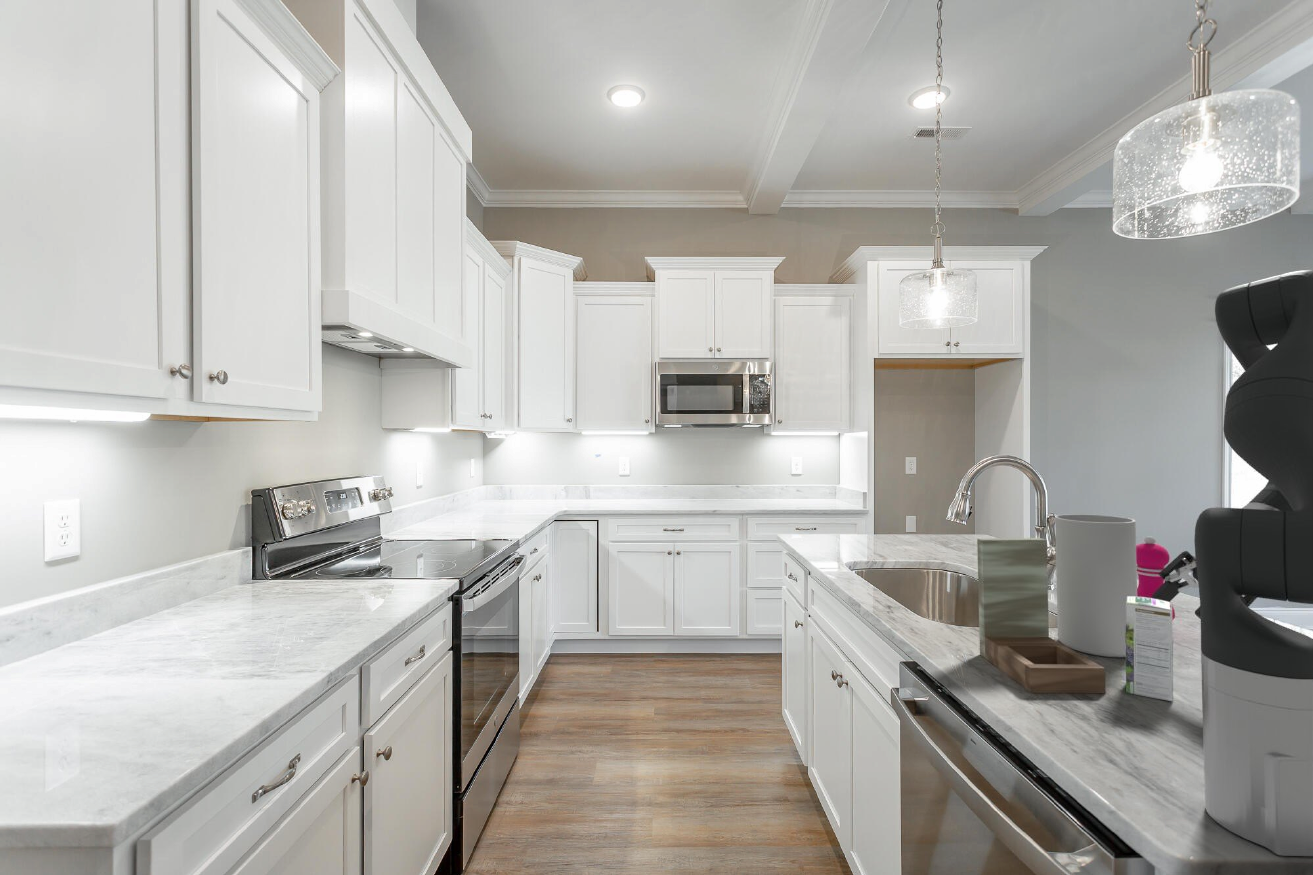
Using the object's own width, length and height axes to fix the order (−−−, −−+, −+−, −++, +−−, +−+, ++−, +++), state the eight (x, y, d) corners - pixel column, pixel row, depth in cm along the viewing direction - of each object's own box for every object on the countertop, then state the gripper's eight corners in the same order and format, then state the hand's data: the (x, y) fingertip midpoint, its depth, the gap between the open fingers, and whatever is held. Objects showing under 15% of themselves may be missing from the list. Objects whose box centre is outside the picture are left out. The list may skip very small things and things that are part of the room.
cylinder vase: (1148, 648, 111) (1145, 518, 111) (1125, 664, 104) (1121, 525, 104) (1072, 631, 121) (1070, 512, 122) (1046, 644, 114) (1043, 518, 114)
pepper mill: (1170, 629, 121) (1168, 534, 122) (1180, 640, 115) (1177, 539, 115) (1126, 624, 125) (1124, 532, 125) (1133, 634, 119) (1131, 537, 119)
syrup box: (1126, 681, 97) (1124, 594, 97) (1173, 690, 93) (1171, 600, 93) (1126, 693, 92) (1123, 602, 93) (1175, 703, 89) (1173, 608, 89)
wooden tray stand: (1105, 693, 92) (1102, 555, 93) (1030, 692, 93) (1027, 556, 93) (1043, 654, 109) (1040, 538, 109) (979, 654, 110) (977, 538, 110)
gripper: (1195, 515, 99) (1126, 582, 100) (1279, 528, 85) (1198, 606, 86) (1229, 546, 99) (1160, 613, 99) (1319, 564, 84) (1237, 642, 85)
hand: (1177, 610), depth 92 cm, fingers open, 8 cm apart
